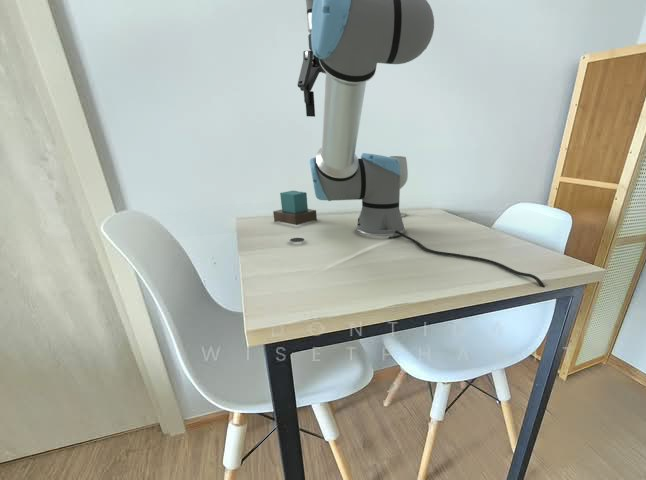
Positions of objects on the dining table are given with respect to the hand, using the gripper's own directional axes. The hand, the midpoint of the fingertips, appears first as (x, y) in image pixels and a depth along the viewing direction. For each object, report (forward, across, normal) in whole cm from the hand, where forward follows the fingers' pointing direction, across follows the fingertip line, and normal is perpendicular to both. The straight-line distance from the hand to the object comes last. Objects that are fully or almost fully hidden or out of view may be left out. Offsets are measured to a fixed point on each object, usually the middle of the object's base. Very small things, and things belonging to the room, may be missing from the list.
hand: (325, 117), depth 112 cm
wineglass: (+33, -22, +14) cm, 42 cm away
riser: (+33, +9, -8) cm, 35 cm away
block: (+29, +9, -8) cm, 31 cm away
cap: (+33, +26, +9) cm, 43 cm away
